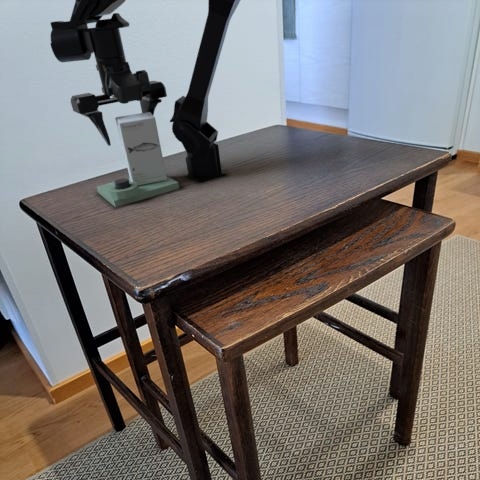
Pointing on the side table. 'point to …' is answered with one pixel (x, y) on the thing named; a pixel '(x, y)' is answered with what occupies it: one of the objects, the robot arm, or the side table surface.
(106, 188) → the scale
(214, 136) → the robot arm
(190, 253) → the side table surface
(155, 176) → the white packaging box
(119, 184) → the button
